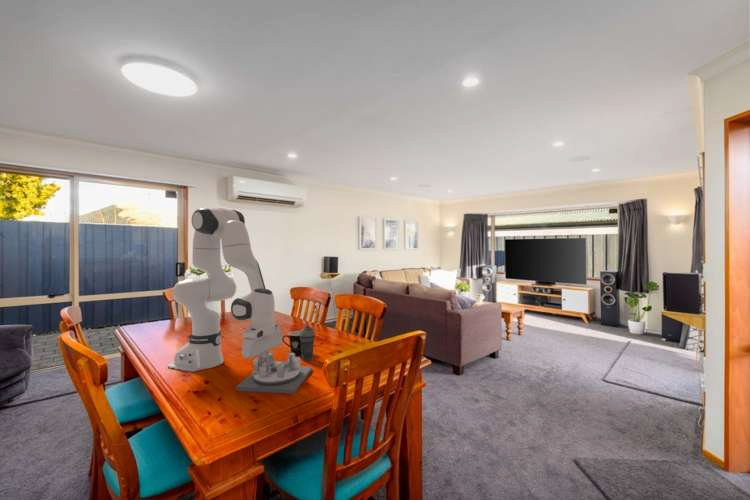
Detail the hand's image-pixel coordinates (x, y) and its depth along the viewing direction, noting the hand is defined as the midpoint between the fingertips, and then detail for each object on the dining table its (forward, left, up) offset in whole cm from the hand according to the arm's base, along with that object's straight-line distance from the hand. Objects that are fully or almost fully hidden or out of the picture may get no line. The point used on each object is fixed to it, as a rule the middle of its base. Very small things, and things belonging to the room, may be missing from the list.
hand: (263, 362), depth 130 cm
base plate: (+7, -2, -6) cm, 9 cm away
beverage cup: (+12, +21, -6) cm, 25 cm away
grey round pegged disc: (+7, -2, -4) cm, 8 cm away
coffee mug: (+3, +30, -6) cm, 31 cm away
